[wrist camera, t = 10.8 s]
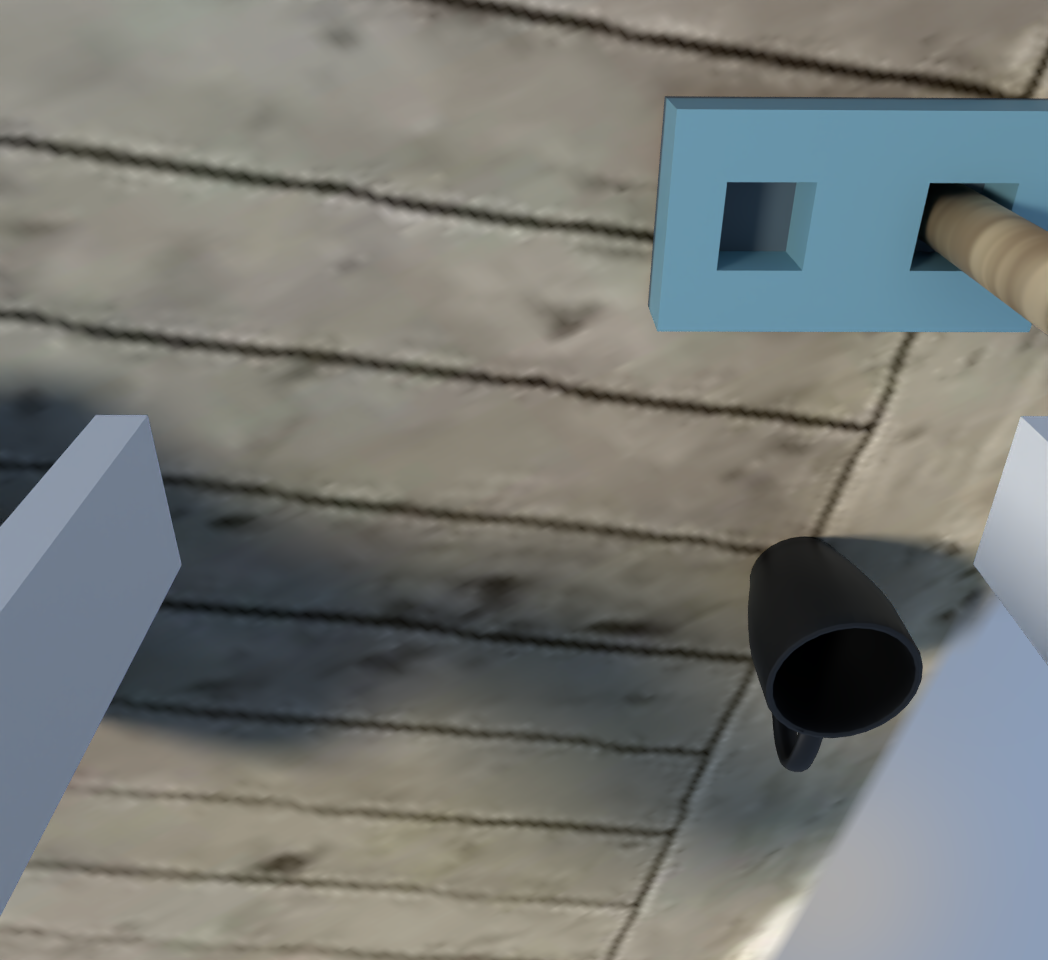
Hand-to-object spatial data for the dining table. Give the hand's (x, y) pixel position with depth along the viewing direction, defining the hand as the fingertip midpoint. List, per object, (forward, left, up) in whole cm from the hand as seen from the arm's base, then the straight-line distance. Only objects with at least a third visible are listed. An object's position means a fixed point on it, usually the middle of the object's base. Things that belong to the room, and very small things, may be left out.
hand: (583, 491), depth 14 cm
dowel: (+20, -4, -32) cm, 38 cm away
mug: (+16, -28, -33) cm, 46 cm away
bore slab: (+15, -4, -33) cm, 36 cm away
